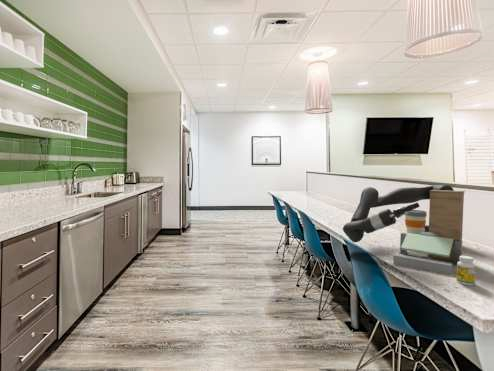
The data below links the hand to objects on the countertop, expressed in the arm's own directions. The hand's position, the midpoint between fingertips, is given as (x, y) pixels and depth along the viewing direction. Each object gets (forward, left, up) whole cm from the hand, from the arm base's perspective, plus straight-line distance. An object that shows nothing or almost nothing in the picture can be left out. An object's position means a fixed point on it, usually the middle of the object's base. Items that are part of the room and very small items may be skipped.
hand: (416, 205), depth 126 cm
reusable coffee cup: (-68, -14, -26) cm, 74 cm away
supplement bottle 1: (-33, 0, -26) cm, 42 cm away
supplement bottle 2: (+13, +19, -26) cm, 35 cm away
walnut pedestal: (-17, +9, -26) cm, 32 cm away
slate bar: (+3, +4, -24) cm, 25 cm away
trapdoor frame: (-10, +4, -26) cm, 28 cm away
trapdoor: (-4, +4, -17) cm, 18 cm away
